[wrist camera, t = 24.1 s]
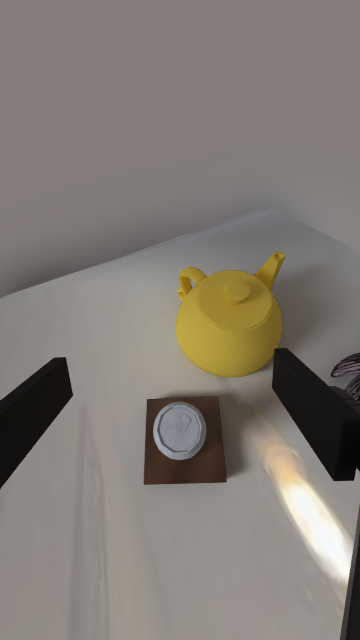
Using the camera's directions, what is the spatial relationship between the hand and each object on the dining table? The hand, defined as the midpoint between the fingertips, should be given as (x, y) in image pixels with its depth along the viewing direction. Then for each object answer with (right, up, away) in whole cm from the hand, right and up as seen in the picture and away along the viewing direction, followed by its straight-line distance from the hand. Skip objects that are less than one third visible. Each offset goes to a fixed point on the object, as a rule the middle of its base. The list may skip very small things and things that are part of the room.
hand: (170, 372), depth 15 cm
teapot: (+9, +3, +27) cm, 29 cm away
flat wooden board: (+1, -13, +18) cm, 23 cm away
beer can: (+1, -12, +16) cm, 20 cm away
